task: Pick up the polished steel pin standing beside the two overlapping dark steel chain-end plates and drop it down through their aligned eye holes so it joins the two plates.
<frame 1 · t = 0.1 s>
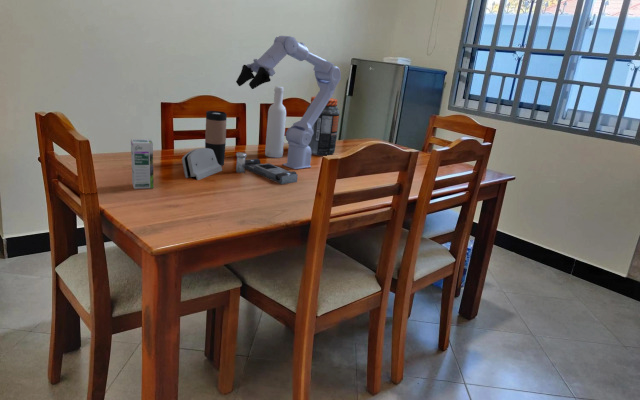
hand: (244, 85, 151), 32 cm above the table, tool tilted 50°, fingers open, 7 cm apart
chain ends: (267, 173, 165), on the table
supplement tub: (318, 152, 211), on the table
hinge: (201, 174, 157), on the table
syrup box: (142, 186, 136), on the table
travel mug: (214, 164, 170), on the table
steel pin: (240, 171, 164), on the table
bottle: (273, 156, 194), on the table
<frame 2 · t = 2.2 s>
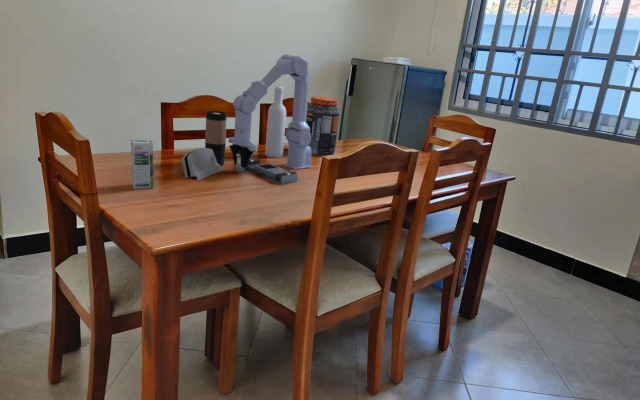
hand: (240, 165, 163), 2 cm above the table, tool pointing down, fingers closed on steel pin, 4 cm apart
steel pin: (240, 171, 164), on the table, touching gripper
everything else where it was.
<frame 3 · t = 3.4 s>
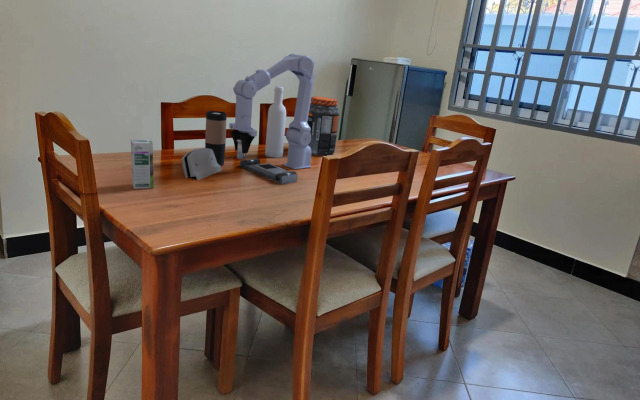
hand: (241, 151, 161), 8 cm above the table, tool pointing down, fingers closed on steel pin, 4 cm apart
steel pin: (241, 158, 162), point 5 cm above the table, touching gripper
everything else where it was.
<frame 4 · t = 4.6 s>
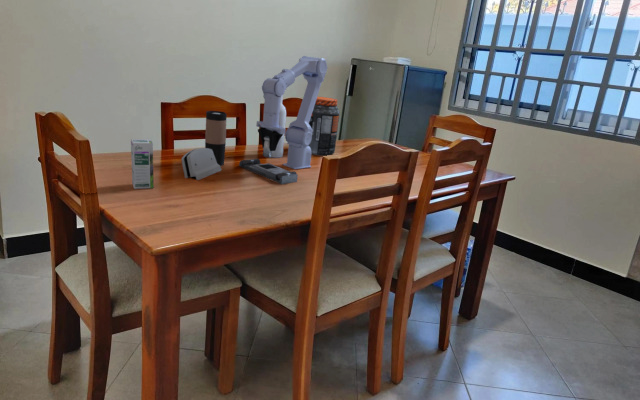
hand: (268, 149, 162), 9 cm above the table, tool pointing down, fingers closed on steel pin, 4 cm apart
steel pin: (266, 155, 163), point 7 cm above the table, touching gripper
everything else where it was.
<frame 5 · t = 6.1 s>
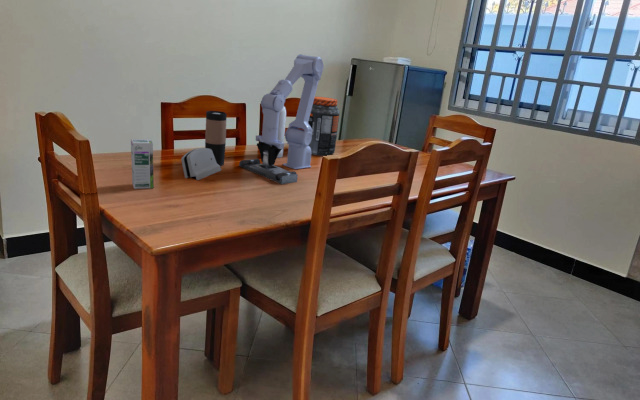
hand: (267, 163, 164), 4 cm above the table, tool pointing down, fingers closed on steel pin, 4 cm apart
steel pin: (265, 169, 165), point 1 cm above the table, touching gripper
everything else where it was.
when the fingers open (4 cm above the table, at t = 7.0 s): steel pin drops 1 cm, resting in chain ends.
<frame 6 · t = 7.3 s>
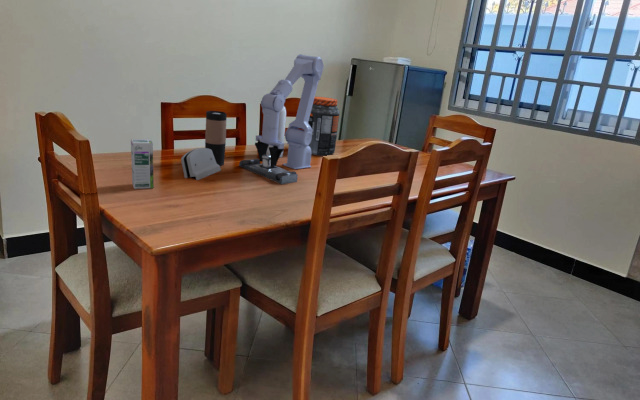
hand: (267, 163, 164), 4 cm above the table, tool pointing down, fingers open, 6 cm apart
steel pin: (265, 173, 165), resting in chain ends
everything else where it was.
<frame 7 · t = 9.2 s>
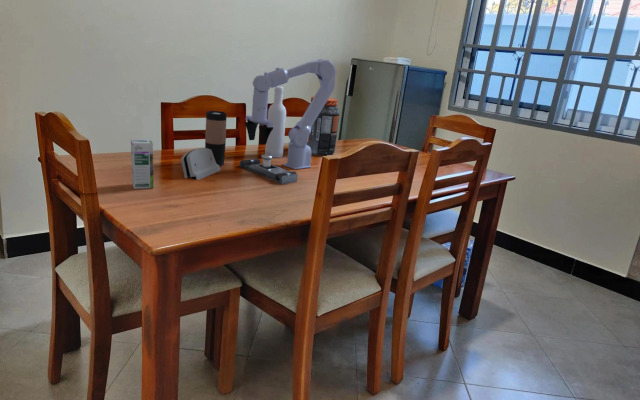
hand: (257, 142, 173), 9 cm above the table, tool pointing down, fingers open, 7 cm apart
nothing on the table moved.
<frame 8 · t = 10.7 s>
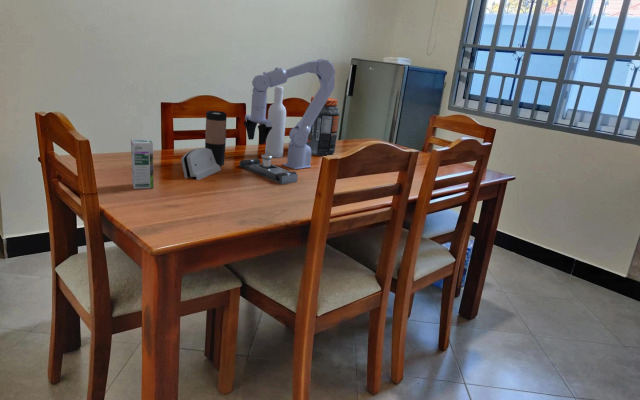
hand: (256, 141, 174), 9 cm above the table, tool pointing down, fingers open, 7 cm apart
nothing on the table moved.
at the end: steel pin 0.4 cm off-centre on the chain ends, point 0.0 cm above the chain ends's base; steel pin tilted 1°; the gripper is holding nothing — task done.
